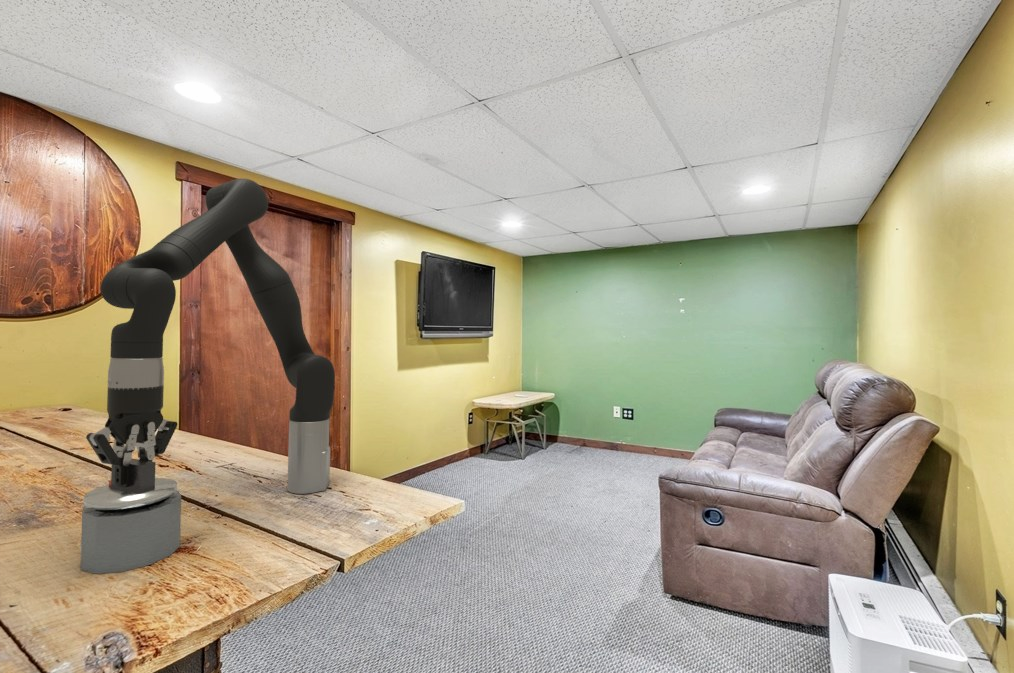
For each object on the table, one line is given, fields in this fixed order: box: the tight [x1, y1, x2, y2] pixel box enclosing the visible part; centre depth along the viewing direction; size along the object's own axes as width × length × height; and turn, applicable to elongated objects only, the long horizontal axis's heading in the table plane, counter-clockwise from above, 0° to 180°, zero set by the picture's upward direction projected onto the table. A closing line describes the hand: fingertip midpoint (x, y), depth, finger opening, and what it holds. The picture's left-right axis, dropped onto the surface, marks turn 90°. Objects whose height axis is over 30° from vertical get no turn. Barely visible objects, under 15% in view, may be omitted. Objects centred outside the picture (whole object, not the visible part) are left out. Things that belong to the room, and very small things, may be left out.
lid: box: [83, 457, 178, 510], centre depth 79 cm, size 12×12×6 cm
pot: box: [80, 490, 182, 575], centre depth 79 cm, size 13×13×9 cm
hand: (133, 483), depth 79 cm, fingers closed on lid, 2 cm apart
